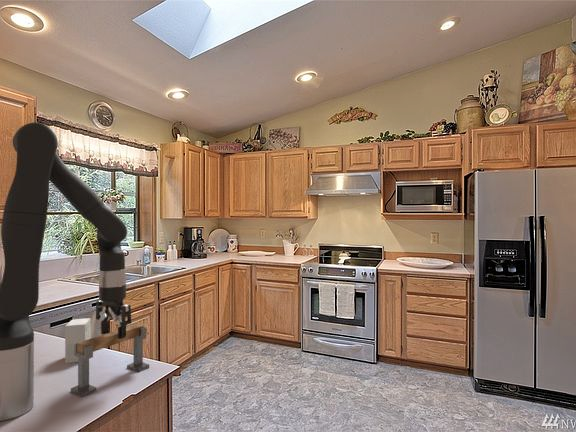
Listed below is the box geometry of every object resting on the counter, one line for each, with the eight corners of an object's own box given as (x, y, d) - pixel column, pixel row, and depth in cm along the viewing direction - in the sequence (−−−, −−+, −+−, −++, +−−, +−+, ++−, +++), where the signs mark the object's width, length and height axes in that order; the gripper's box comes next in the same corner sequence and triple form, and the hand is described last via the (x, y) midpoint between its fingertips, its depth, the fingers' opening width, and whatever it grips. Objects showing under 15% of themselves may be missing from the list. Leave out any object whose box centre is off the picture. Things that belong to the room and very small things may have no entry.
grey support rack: (82, 397, 95) (82, 348, 96) (70, 391, 98) (70, 344, 99) (149, 367, 115) (149, 326, 115) (137, 363, 118) (137, 324, 118)
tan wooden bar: (83, 355, 97) (83, 344, 97) (77, 353, 99) (77, 342, 99) (143, 334, 115) (143, 325, 115) (137, 333, 116) (137, 324, 116)
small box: (71, 354, 126) (71, 319, 126) (91, 352, 128) (91, 317, 128) (64, 363, 118) (64, 325, 118) (85, 361, 120) (85, 323, 120)
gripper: (87, 284, 107) (87, 336, 107) (115, 288, 100) (116, 343, 100) (109, 280, 114) (110, 329, 114) (138, 283, 107) (138, 335, 107)
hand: (113, 335), depth 107 cm, fingers open, 8 cm apart
